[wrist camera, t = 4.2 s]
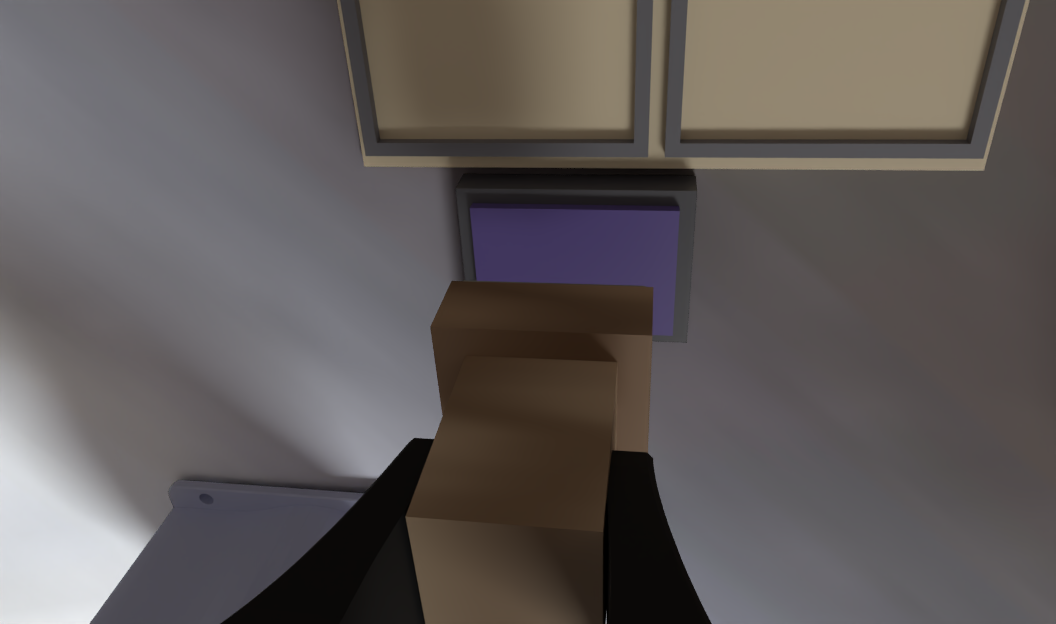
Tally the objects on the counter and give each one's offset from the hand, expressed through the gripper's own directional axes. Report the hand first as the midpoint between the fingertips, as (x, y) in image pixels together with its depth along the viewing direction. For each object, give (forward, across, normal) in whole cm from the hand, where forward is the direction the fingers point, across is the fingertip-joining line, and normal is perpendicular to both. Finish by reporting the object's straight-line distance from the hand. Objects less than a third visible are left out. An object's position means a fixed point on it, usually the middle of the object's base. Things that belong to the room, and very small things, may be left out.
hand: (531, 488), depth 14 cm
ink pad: (+9, 0, 0) cm, 9 cm away
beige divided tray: (+9, -2, -6) cm, 11 cm away
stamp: (+4, 0, 0) cm, 4 cm away
